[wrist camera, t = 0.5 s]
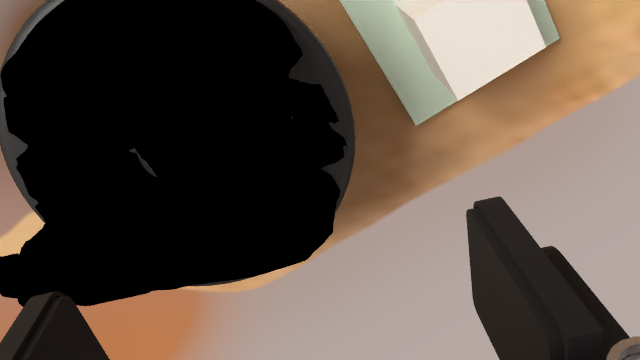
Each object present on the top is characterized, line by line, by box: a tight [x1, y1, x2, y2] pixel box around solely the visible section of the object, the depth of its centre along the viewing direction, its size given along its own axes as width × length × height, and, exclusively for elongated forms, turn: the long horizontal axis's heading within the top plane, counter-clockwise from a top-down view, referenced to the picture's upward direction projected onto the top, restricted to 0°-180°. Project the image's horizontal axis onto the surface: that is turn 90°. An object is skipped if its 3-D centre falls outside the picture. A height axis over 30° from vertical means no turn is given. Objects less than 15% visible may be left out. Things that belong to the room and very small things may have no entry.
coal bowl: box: [0, 0, 355, 307], centre depth 28 cm, size 20×20×19 cm
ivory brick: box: [394, 0, 546, 101], centre depth 32 cm, size 6×6×6 cm
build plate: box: [340, 0, 560, 126], centre depth 35 cm, size 12×12×1 cm
